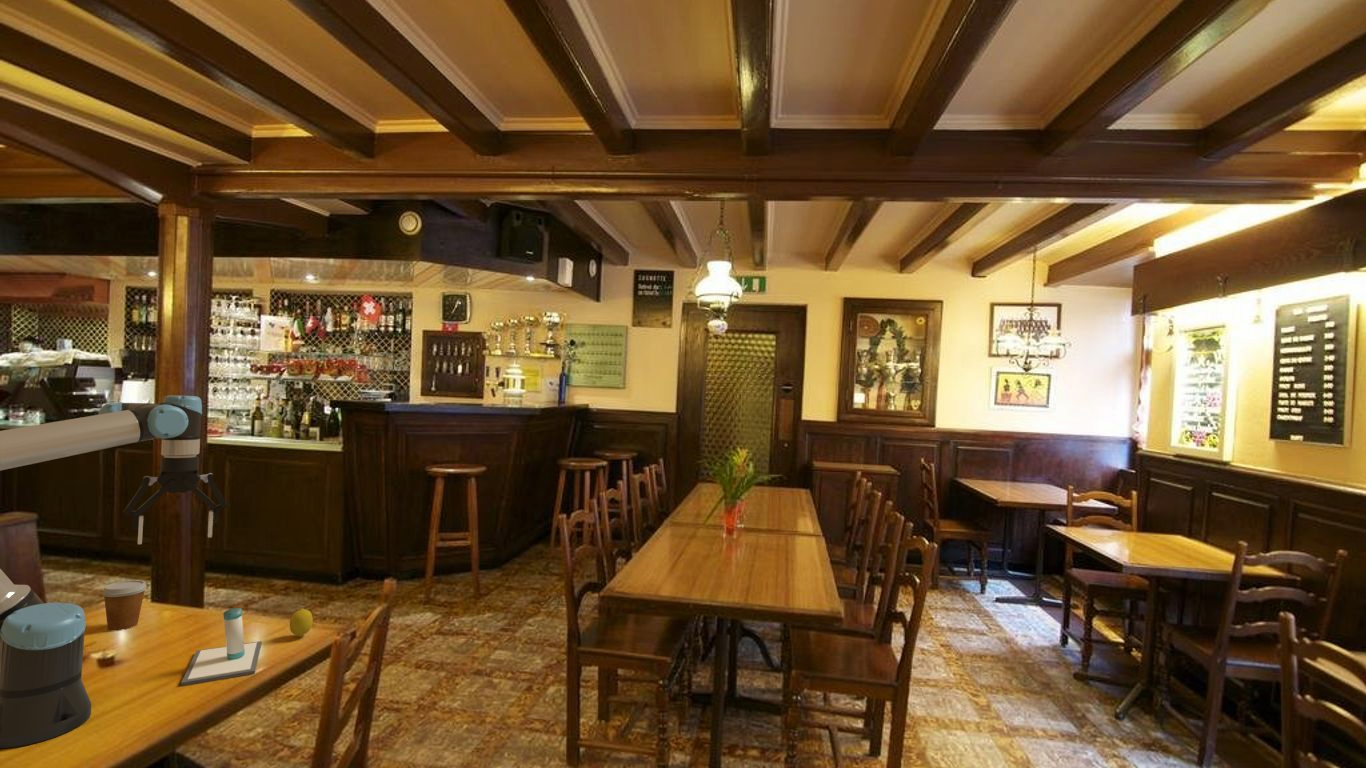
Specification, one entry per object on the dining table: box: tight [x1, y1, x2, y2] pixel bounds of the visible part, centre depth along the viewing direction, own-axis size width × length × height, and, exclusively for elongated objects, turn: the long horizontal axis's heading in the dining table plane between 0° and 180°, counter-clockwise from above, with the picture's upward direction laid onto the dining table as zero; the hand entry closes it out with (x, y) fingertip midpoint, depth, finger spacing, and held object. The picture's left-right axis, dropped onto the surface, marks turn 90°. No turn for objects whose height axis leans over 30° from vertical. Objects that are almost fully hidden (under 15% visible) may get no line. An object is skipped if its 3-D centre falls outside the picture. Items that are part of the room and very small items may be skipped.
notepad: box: [180, 640, 263, 687], centre depth 152 cm, size 14×20×1 cm
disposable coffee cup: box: [101, 579, 148, 631], centre depth 173 cm, size 10×10×12 cm
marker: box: [222, 607, 245, 660], centre depth 153 cm, size 4×4×12 cm
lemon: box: [289, 607, 314, 638], centre depth 170 cm, size 6×6×8 cm
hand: (175, 539), depth 153 cm, fingers open, 13 cm apart
